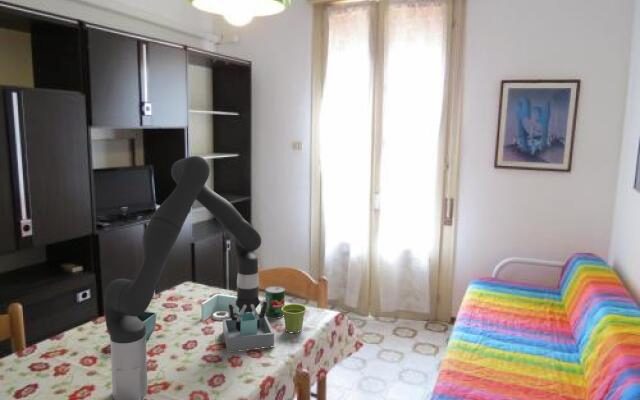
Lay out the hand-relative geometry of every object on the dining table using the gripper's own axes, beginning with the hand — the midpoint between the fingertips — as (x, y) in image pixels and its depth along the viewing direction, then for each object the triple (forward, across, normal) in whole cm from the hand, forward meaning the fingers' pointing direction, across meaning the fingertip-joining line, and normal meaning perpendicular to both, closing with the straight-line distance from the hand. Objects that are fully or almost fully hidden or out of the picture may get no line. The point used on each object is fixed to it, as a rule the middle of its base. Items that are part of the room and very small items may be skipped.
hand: (247, 329), depth 165 cm
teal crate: (+1, 0, 0) cm, 1 cm away
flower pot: (+4, -37, +9) cm, 38 cm away
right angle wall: (+5, -7, +23) cm, 24 cm away
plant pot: (+4, +18, +4) cm, 19 cm away
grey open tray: (+4, 0, 0) cm, 4 cm away
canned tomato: (+4, +14, +20) cm, 25 cm away
